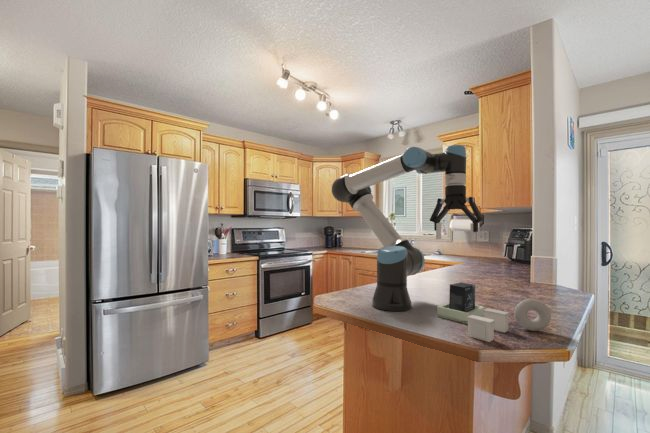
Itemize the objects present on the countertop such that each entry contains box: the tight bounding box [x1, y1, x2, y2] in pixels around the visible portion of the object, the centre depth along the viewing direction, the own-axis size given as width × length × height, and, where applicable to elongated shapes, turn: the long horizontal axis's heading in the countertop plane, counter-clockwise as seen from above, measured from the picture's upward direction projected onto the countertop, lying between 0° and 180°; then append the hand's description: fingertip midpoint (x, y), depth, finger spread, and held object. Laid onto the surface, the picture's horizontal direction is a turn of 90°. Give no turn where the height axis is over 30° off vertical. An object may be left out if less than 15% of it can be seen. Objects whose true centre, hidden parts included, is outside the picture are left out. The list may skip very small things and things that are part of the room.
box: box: [448, 281, 476, 312], centre depth 109 cm, size 8×6×11 cm
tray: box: [436, 302, 486, 325], centre depth 109 cm, size 11×13×4 cm
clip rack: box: [467, 307, 510, 343], centre depth 93 cm, size 6×16×6 cm, turn 132°
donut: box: [513, 298, 552, 332], centre depth 96 cm, size 10×4×10 cm, turn 78°
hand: (455, 240), depth 120 cm, fingers open, 13 cm apart
